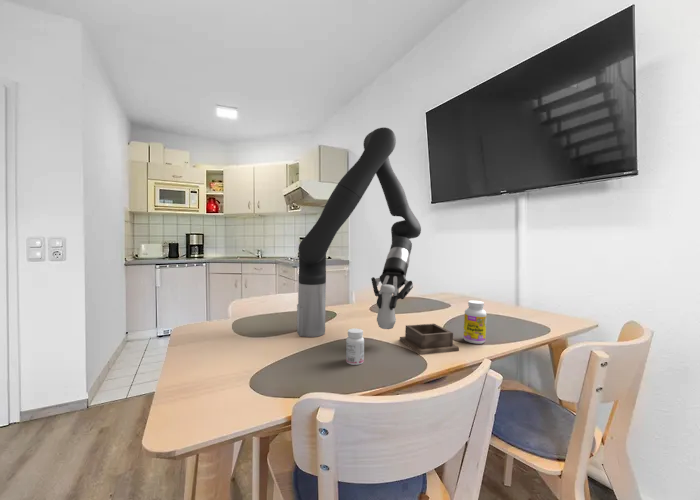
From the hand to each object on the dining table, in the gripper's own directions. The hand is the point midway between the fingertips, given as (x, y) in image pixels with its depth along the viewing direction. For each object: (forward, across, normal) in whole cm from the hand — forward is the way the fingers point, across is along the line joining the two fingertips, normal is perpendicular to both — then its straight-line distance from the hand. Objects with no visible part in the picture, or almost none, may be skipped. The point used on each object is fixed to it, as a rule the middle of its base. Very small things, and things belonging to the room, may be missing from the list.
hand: (385, 307), depth 94 cm
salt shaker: (+3, 0, +6) cm, 7 cm away
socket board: (+3, +12, +14) cm, 19 cm away
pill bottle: (+18, -4, 0) cm, 19 cm away
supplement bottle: (-5, +25, +22) cm, 34 cm away
